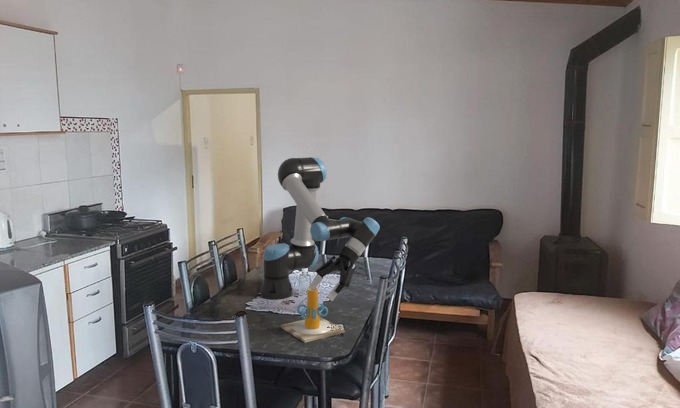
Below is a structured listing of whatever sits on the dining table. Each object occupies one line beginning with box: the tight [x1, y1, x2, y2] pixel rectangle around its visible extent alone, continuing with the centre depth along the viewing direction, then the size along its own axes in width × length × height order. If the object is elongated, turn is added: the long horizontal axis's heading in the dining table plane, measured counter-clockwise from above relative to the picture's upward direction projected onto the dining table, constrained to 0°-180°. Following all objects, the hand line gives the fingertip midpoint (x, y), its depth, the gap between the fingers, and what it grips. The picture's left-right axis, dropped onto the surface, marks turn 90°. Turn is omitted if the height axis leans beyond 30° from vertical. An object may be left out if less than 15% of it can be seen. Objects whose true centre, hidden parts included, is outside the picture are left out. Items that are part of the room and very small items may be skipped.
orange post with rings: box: [296, 287, 329, 329], centre depth 205 cm, size 12×10×15 cm
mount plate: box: [280, 316, 346, 344], centre depth 206 cm, size 18×18×1 cm
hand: (319, 294), depth 205 cm, fingers open, 13 cm apart
